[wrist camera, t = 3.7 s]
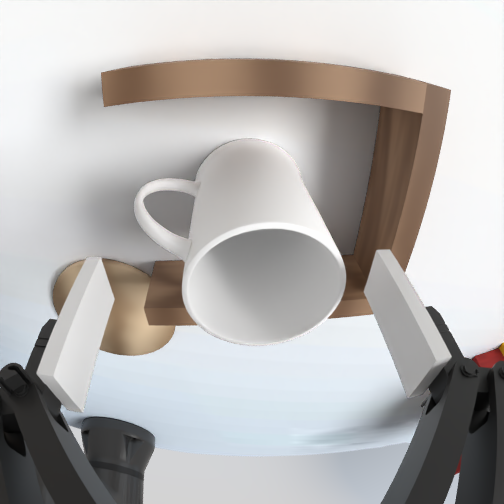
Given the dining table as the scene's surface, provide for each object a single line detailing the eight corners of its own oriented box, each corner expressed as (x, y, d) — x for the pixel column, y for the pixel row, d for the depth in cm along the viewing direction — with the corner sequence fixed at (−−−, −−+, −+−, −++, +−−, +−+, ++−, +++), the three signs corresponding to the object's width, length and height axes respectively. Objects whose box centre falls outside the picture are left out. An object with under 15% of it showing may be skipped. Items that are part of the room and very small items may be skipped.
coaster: (79, 347, 35) (78, 352, 34) (37, 260, 27) (34, 264, 26) (184, 351, 36) (183, 356, 36) (165, 256, 28) (163, 261, 27)
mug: (141, 194, 24) (94, 299, 15) (186, 98, 20) (150, 145, 11) (266, 249, 28) (287, 362, 19) (322, 171, 24) (384, 263, 15)
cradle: (158, 278, 29) (148, 325, 25) (131, 66, 18) (101, 72, 13) (367, 270, 31) (389, 312, 26) (405, 77, 20) (450, 90, 15)
